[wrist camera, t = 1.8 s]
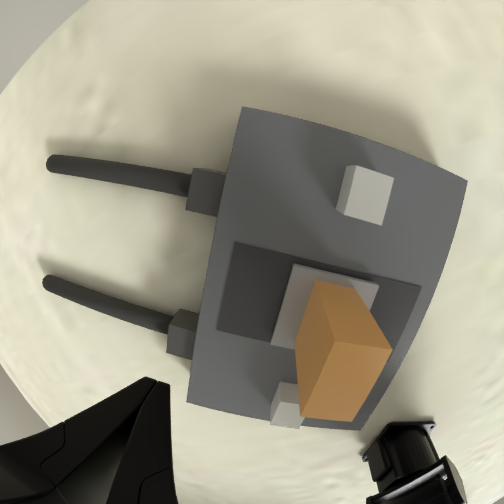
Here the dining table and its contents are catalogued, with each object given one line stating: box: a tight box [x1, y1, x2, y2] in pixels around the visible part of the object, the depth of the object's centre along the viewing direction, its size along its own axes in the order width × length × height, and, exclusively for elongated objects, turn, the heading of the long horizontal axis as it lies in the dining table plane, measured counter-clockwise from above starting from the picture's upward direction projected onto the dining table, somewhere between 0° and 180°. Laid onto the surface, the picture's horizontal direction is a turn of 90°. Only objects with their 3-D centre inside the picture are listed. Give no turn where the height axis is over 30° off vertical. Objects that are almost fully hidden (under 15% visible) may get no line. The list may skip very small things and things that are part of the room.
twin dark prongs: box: [42, 155, 192, 335], centre depth 19 cm, size 15×11×1 cm
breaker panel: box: [166, 107, 468, 430], centre depth 17 cm, size 16×20×5 cm
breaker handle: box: [270, 263, 393, 422], centre depth 13 cm, size 5×5×6 cm
